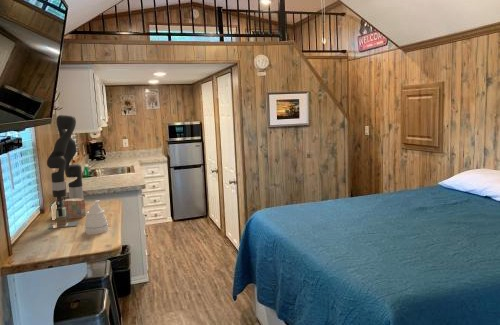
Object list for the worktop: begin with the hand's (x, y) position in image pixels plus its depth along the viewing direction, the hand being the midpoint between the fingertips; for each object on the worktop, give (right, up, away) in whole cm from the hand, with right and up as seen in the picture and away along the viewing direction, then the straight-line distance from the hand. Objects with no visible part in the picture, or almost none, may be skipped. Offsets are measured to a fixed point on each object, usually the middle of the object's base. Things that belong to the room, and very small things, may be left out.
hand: (61, 215), depth 246 cm
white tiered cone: (+27, -8, -11) cm, 30 cm away
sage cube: (0, -1, 0) cm, 1 cm away
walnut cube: (0, -6, +1) cm, 6 cm away
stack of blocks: (-5, -5, +21) cm, 23 cm away
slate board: (+1, -7, +1) cm, 7 cm away
